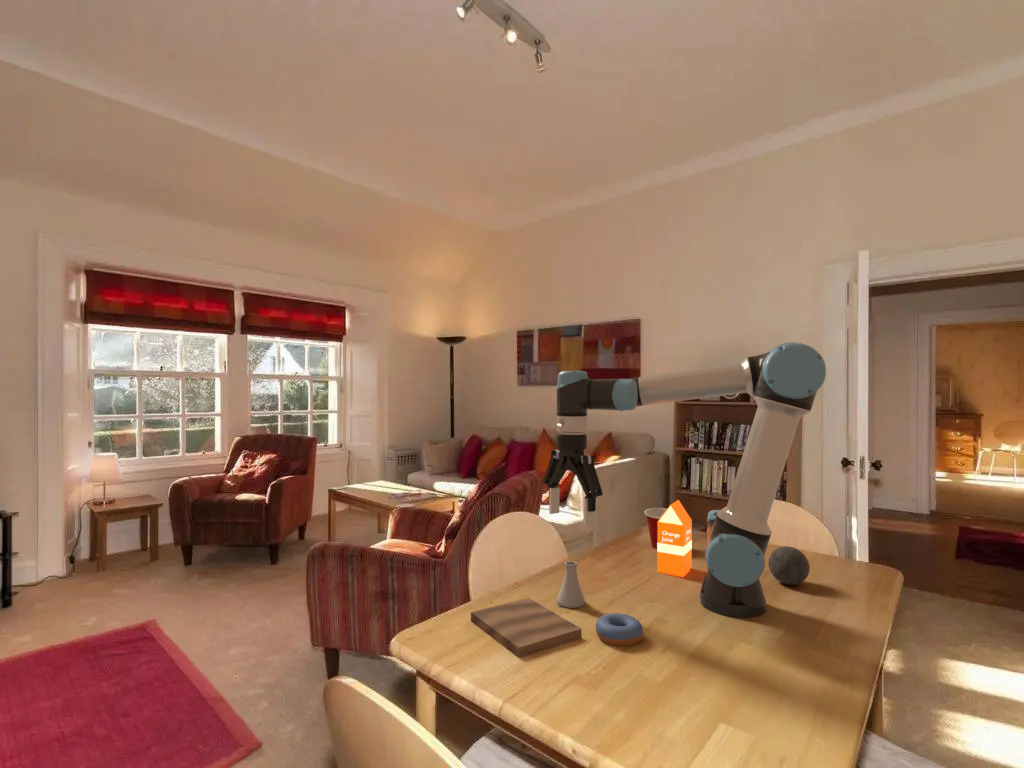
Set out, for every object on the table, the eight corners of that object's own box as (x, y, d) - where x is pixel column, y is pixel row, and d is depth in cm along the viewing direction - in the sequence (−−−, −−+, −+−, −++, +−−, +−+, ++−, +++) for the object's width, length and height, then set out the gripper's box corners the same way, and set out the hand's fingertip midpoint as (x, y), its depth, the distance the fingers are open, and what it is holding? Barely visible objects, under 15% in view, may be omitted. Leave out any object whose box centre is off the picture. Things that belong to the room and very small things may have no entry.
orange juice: (692, 568, 162) (692, 500, 162) (683, 577, 155) (684, 506, 155) (665, 563, 166) (665, 497, 166) (656, 572, 159) (656, 503, 159)
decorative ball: (812, 592, 144) (812, 554, 144) (770, 587, 147) (770, 550, 147) (805, 579, 153) (805, 543, 153) (766, 575, 156) (766, 540, 156)
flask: (584, 610, 132) (584, 568, 132) (554, 607, 133) (554, 566, 133) (586, 598, 139) (586, 559, 139) (558, 596, 140) (558, 557, 140)
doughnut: (586, 630, 120) (588, 610, 120) (624, 625, 124) (626, 605, 124) (611, 655, 111) (613, 633, 111) (651, 649, 115) (653, 628, 115)
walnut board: (581, 638, 117) (581, 628, 117) (518, 657, 108) (518, 647, 108) (528, 606, 134) (528, 597, 134) (470, 620, 125) (470, 612, 125)
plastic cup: (641, 550, 180) (641, 513, 180) (646, 541, 190) (646, 506, 190) (675, 553, 176) (676, 516, 176) (679, 544, 186) (679, 509, 186)
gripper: (530, 429, 144) (529, 510, 144) (593, 438, 123) (592, 532, 123) (553, 428, 149) (552, 507, 148) (618, 436, 127) (617, 527, 127)
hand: (570, 518), depth 136 cm, fingers open, 13 cm apart
